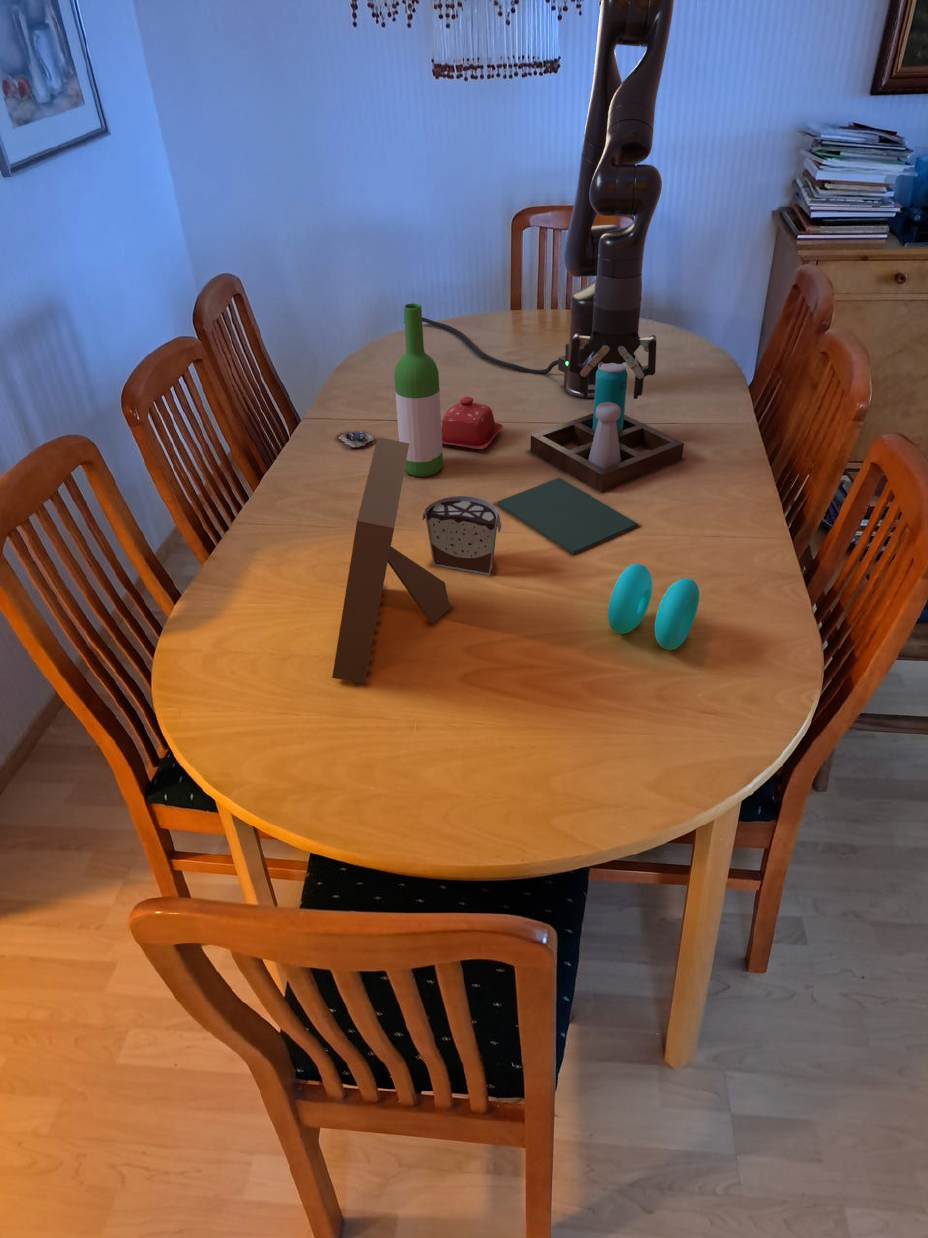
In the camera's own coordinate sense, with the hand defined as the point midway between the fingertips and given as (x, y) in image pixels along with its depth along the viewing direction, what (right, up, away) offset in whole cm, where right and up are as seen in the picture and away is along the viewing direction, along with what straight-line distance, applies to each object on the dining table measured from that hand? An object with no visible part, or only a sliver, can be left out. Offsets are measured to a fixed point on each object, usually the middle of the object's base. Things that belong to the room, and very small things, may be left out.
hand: (610, 396), depth 155 cm
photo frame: (-35, -40, -27) cm, 60 cm away
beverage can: (+2, -4, +19) cm, 20 cm away
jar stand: (+1, -8, +14) cm, 16 cm away
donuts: (+1, -41, -29) cm, 50 cm away
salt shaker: (0, -12, +9) cm, 15 cm away
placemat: (-8, -21, -3) cm, 23 cm away
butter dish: (-24, -3, +21) cm, 33 cm away
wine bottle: (-33, -11, +12) cm, 37 cm away
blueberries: (-47, -4, +22) cm, 52 cm away
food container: (-25, -29, -13) cm, 40 cm away
